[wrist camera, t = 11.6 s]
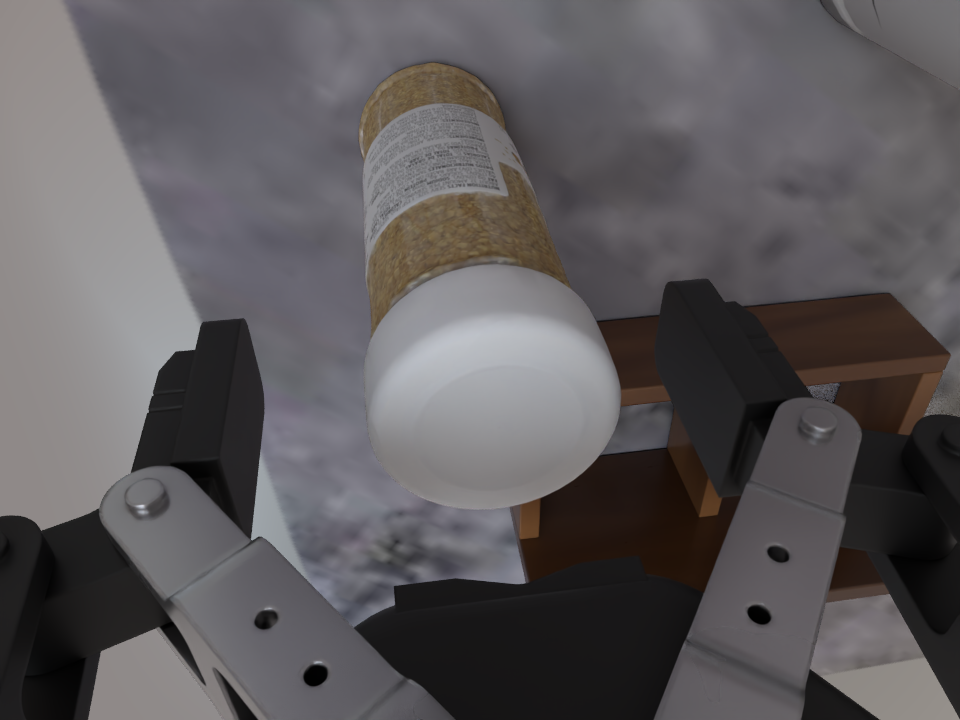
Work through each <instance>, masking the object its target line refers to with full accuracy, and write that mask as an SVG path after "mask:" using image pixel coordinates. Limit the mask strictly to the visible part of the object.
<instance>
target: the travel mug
mask: <svg viewBox="0 0 960 720" xmlns="http://www.w3.org/2000/svg"><path fill="white" fill-rule="evenodd" d="M821 1H822V3H823V5H824V7H825V8H826V10H827V11H828V12H829V13H830V14H831V15H832V16H833V17H834V18H835V19H836V20H837V21H838V22H839V23H841V24H843V25H845V26H846V27H848V28H850V29H852V30H853V31H855V32H857V33H859V34H861V35H862V36H864V37H866V38H868V39H869V40H871V41H873V42H875V43H877V44H878V45H880V46H882V47H884V48H885V49H887V50H889V51H891V52H893V53H894V54H896V55H898V56H900V57H902V58H903V59H905V60H907V61H909V62H910V63H912V64H914V65H916V66H918V67H919V68H921V69H923V70H925V71H926V72H928V73H930V74H932V75H934V76H935V77H937V78H939V79H941V80H942V81H944V82H946V83H948V84H950V85H951V86H953V87H955V88H957V89H959V90H960V0H821Z"/></svg>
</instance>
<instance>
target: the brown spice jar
mask: <svg viewBox="0 0 960 720" xmlns="http://www.w3.org/2000/svg"><path fill="white" fill-rule="evenodd" d="M359 145H360V149H361V155H362V158H363V160H364V169H363V208H364V243H365V275H366V284H367V290H368V294H369V297H370V305H371V340H370V343H369V345H368V348H367V353H366V357H365V361H364V392H365V407H366V418H367V428H368V434H369V439H370V443H371V446H372V448H373V451H374V453H375V455H376V457H377V459H378V461H379V462H380V464H381V465H382V467H383V468H384V469H385V471H386V472H387V473H388V474H389V475H390V476H391V477H392V478H393V479H394V480H395V481H396V482H397V483H398V484H399V485H401V486H402V487H404V488H405V489H407V490H408V491H410V492H411V493H413V494H415V495H417V496H419V497H421V498H423V499H426V500H428V501H431V502H434V503H437V504H441V505H445V506H449V507H454V508H461V509H479V510H484V509H497V508H504V507H511V506H515V505H519V504H523V503H527V502H530V501H533V500H536V499H538V498H541V497H544V496H546V495H548V494H550V493H552V492H554V491H556V490H558V489H560V488H562V487H563V486H565V485H567V484H568V483H570V482H571V481H573V480H574V479H576V478H577V477H578V476H579V475H580V474H582V473H583V472H584V471H585V470H586V469H587V468H588V467H589V466H590V465H591V464H592V463H593V462H594V461H595V460H596V459H597V458H598V457H599V455H600V454H601V453H602V451H603V450H604V449H605V447H606V446H607V444H608V442H609V441H610V439H611V437H612V435H613V433H614V431H615V428H616V425H617V422H618V418H619V414H620V407H621V388H620V383H619V378H618V374H617V371H616V368H615V365H614V363H613V360H612V358H611V355H610V352H609V350H608V347H607V345H606V342H605V340H604V338H603V336H602V333H601V331H600V329H599V327H598V325H597V322H596V320H595V318H594V316H593V314H592V313H591V311H590V309H589V308H588V306H587V305H586V304H585V302H584V301H583V300H582V298H581V297H580V296H578V295H577V294H576V293H575V292H574V291H573V290H572V289H571V287H570V284H569V281H568V280H567V277H566V274H565V271H564V269H563V267H562V264H561V261H560V259H559V257H558V254H557V252H556V249H555V246H554V244H553V241H552V239H551V237H550V234H549V230H548V227H547V224H546V221H545V218H544V216H543V214H542V212H541V210H540V208H539V204H538V201H537V198H536V195H535V192H534V189H533V187H532V185H531V183H530V180H529V178H528V176H527V173H526V171H525V168H524V166H523V163H522V161H521V159H520V156H519V154H518V152H517V149H516V147H515V145H514V143H513V141H512V140H511V138H510V137H509V135H508V134H507V132H506V129H505V122H504V118H503V114H502V112H501V109H500V106H499V104H498V102H497V100H496V98H495V97H494V95H493V93H492V92H491V91H490V90H489V89H488V88H487V87H486V86H485V85H484V84H483V83H482V82H481V81H480V80H479V79H478V78H476V77H475V76H474V75H471V74H469V73H467V72H466V71H464V70H462V69H459V68H456V67H452V66H450V65H444V64H440V63H434V62H431V63H426V64H422V65H415V66H411V67H408V68H405V69H403V70H400V71H398V72H395V73H394V74H393V75H391V76H390V77H388V78H387V79H386V80H385V81H383V82H382V83H380V84H379V85H378V86H377V88H376V90H375V91H374V92H373V94H372V95H371V96H370V98H369V99H368V101H367V103H366V105H365V108H364V110H363V112H362V116H361V120H360V125H359Z"/></svg>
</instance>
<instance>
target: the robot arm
mask: <svg viewBox="0 0 960 720" xmlns="http://www.w3.org/2000/svg"><path fill="white" fill-rule="evenodd" d="M654 355H655V364H656V368H657V372H658V374H659V377H660V379H661V381H662V383H663V385H664V387H665V389H666V391H667V393H668V395H669V397H670V399H671V401H672V403H673V405H674V407H675V409H676V411H677V414H678V416H679V418H680V420H681V422H682V424H683V426H684V428H685V430H686V432H687V434H688V436H689V438H690V440H691V442H692V444H693V446H694V448H695V450H696V452H697V454H698V456H699V458H700V461H701V463H702V465H703V467H704V469H705V471H706V473H707V475H708V477H709V479H710V481H711V483H712V485H713V487H714V489H715V491H716V493H717V495H718V497H719V498H722V497H731V496H739V495H741V499H740V501H739V504H738V506H737V509H736V511H735V514H734V517H733V519H732V522H731V524H730V527H729V530H728V532H727V535H726V537H725V540H724V543H723V545H722V548H721V550H720V553H719V555H718V558H717V561H716V563H715V566H714V568H713V571H712V574H711V576H710V579H709V581H708V584H707V586H706V589H705V592H704V593H703V592H701V591H699V590H697V589H695V588H693V587H691V586H689V585H686V584H684V583H682V582H679V581H676V580H672V579H669V578H665V577H661V576H656V575H650V574H646V573H645V570H644V567H643V565H642V562H641V559H640V556H639V555H638V556H630V557H622V558H614V559H606V560H598V561H591V562H583V563H578V564H576V565H573V566H571V567H568V568H565V569H563V570H560V571H557V572H555V573H552V574H549V575H547V576H544V577H541V578H539V579H536V580H534V581H531V582H528V583H525V584H507V583H497V582H487V581H477V580H466V579H456V578H455V579H447V580H439V581H431V582H423V583H415V584H407V585H399V586H394V594H395V605H394V606H392V607H389V608H387V609H384V610H382V611H380V612H378V613H376V614H374V615H372V616H370V617H369V618H367V619H366V620H364V621H363V622H361V623H360V624H358V625H357V626H356V627H354V628H353V627H352V626H351V625H350V624H349V622H348V621H347V620H346V619H345V618H344V617H343V616H342V615H341V614H340V613H339V612H338V611H337V610H336V609H335V608H334V607H333V606H332V605H331V604H330V603H329V602H328V601H327V600H326V599H325V598H324V597H323V596H322V595H321V594H320V593H319V592H318V591H317V590H316V589H315V588H314V587H313V586H312V585H311V584H310V583H309V582H308V581H307V580H306V579H305V578H304V577H303V576H302V575H301V574H300V573H299V572H298V571H297V570H296V569H295V568H294V567H293V566H292V564H290V562H289V561H288V560H287V559H286V558H285V557H284V556H283V555H282V554H281V553H280V552H279V551H278V550H277V549H276V548H275V547H274V546H273V545H272V544H271V543H270V542H268V541H267V540H266V539H264V538H263V537H257V538H256V539H254V540H253V541H252V540H251V533H252V523H253V514H254V505H255V495H256V486H257V476H258V468H259V467H258V466H259V458H260V449H261V439H262V430H263V421H264V393H263V386H262V381H261V377H260V373H259V369H258V365H257V361H256V357H255V353H254V349H253V345H252V341H251V337H250V333H249V329H248V325H247V323H246V321H245V319H244V318H242V319H231V320H220V321H209V322H203V323H202V324H201V327H200V331H199V336H198V340H197V344H196V349H195V350H190V351H178V352H175V353H174V354H173V355H172V357H171V358H170V359H169V360H168V361H167V362H166V364H165V365H164V366H163V367H162V368H161V369H160V370H159V372H158V376H157V380H156V383H155V387H154V390H153V394H154V396H152V398H151V401H150V405H149V413H147V416H146V419H145V423H144V427H143V430H142V434H141V438H140V442H139V445H138V449H137V452H136V456H135V459H134V463H133V467H132V470H131V473H130V474H128V475H126V476H125V477H123V478H122V479H120V480H119V481H118V482H116V483H115V484H114V485H113V486H112V487H111V488H110V489H109V490H108V491H107V493H106V494H105V495H104V497H103V499H102V501H101V504H100V508H99V509H97V510H95V511H93V512H91V513H90V514H87V515H84V516H82V517H79V518H76V519H73V520H71V521H68V522H65V523H62V524H59V525H57V526H54V527H51V528H48V529H45V530H42V531H41V530H40V528H39V527H38V525H37V524H36V523H35V522H33V521H32V520H30V519H28V518H26V517H21V516H1V517H0V720H88V716H89V711H90V706H91V701H92V695H93V690H94V685H95V679H96V673H97V669H98V663H99V658H100V653H101V651H102V650H105V649H107V648H110V647H112V646H114V645H117V644H119V643H121V642H124V641H126V640H129V639H131V638H134V637H136V636H138V635H141V634H143V633H146V632H148V631H150V630H153V629H155V628H156V629H157V631H158V632H159V633H160V635H161V636H162V637H163V638H164V640H165V641H166V642H167V644H168V645H169V646H170V648H171V649H172V650H173V652H174V653H175V654H176V656H177V657H178V658H179V659H180V661H181V662H182V663H183V665H184V666H185V667H186V669H187V670H188V671H189V673H190V674H191V675H192V676H193V678H194V679H195V680H196V682H197V683H198V684H199V686H200V687H201V688H202V690H203V691H204V692H205V694H206V695H207V696H208V698H209V699H210V700H211V702H212V703H213V705H214V706H215V708H216V709H217V711H218V712H219V714H220V716H221V718H222V719H223V720H879V719H878V718H876V717H875V716H874V715H872V714H871V713H870V712H868V711H867V710H865V709H864V708H862V707H861V706H860V705H859V704H857V703H856V702H855V701H853V700H852V699H850V698H849V697H848V696H846V695H845V694H844V693H842V692H841V691H839V690H838V689H837V688H835V687H834V686H833V685H831V684H830V683H828V682H827V681H826V680H824V679H823V678H822V677H820V676H819V675H817V674H816V673H815V672H813V671H812V670H811V669H810V666H811V661H812V657H813V653H814V649H815V645H816V641H817V637H818V633H819V629H820V625H821V621H822V617H823V613H824V609H825V604H826V600H827V596H828V592H829V588H830V584H831V580H832V576H833V572H834V568H835V564H836V560H837V556H838V551H839V547H843V548H850V549H856V550H863V551H866V552H867V554H868V556H869V558H870V559H871V561H872V563H873V565H874V567H875V568H876V570H877V572H878V574H879V575H880V577H881V579H882V581H883V583H884V584H885V586H886V588H887V590H888V592H889V593H890V595H891V597H892V599H893V600H894V602H895V604H896V606H897V608H898V609H899V611H900V613H901V615H902V617H903V618H904V620H905V622H906V624H907V625H908V627H909V629H910V631H911V633H912V634H913V636H914V638H915V640H916V642H917V643H918V645H919V647H920V649H921V650H922V652H923V654H924V656H925V658H926V659H927V661H928V663H929V665H930V666H931V668H932V670H933V672H934V673H935V675H936V677H937V679H938V681H939V683H940V684H941V686H942V688H943V690H944V691H945V693H946V695H947V697H948V699H949V700H950V702H951V704H952V706H953V707H954V709H955V711H956V713H957V715H958V717H959V718H960V417H956V416H951V415H930V416H926V417H923V418H922V419H920V420H919V421H917V422H916V424H915V425H914V427H913V429H912V431H911V433H910V435H903V434H895V433H888V432H880V431H872V430H867V429H862V428H860V426H859V424H858V423H857V421H856V420H855V418H854V417H853V416H852V415H851V414H849V413H848V412H847V411H846V410H844V409H843V408H841V407H839V406H837V405H835V404H833V403H831V402H828V401H825V400H821V399H817V398H813V396H812V395H811V393H810V392H809V391H808V389H807V388H806V386H805V385H804V383H803V382H802V381H801V379H800V378H799V376H798V375H797V373H796V372H795V371H794V369H793V368H792V366H791V365H790V364H789V362H788V361H787V359H786V358H785V356H784V355H783V354H782V352H781V351H778V346H777V345H776V344H775V342H774V341H773V339H772V338H771V337H769V336H768V332H767V331H766V329H765V328H764V326H763V325H762V324H761V322H760V321H759V319H758V318H757V316H755V315H754V314H753V313H751V312H750V311H748V310H747V309H745V308H744V307H742V306H741V305H740V304H738V303H737V302H735V301H734V302H724V301H723V300H722V298H721V297H720V295H719V294H718V292H717V291H716V289H715V288H714V286H713V285H712V283H711V282H710V281H709V280H708V279H695V280H684V281H673V282H668V283H667V284H666V286H665V289H664V293H663V299H662V304H661V310H660V316H659V322H658V328H657V333H656V339H655V347H654Z"/></svg>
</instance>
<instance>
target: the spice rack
mask: <svg viewBox="0 0 960 720" xmlns="http://www.w3.org/2000/svg"><path fill="white" fill-rule="evenodd" d="M745 309H747V310H748V311H750V312H751V313H753V314H754V315H755V316H757V318H758V319H759V321H760V322H761V324H762V325H763V326H764V328H765V329H766V331H767V332H768V336H769V337H771V338H772V339H773V341H774V342H775V344H776V345H777V346H778V351H781V352H782V354H783V355H784V356H785V358H786V359H787V361H788V362H789V364H790V365H791V366H792V368H793V369H794V371H795V372H796V373H797V375H798V376H799V378H800V379H801V381H802V382H803V383H804V385H805V386H811V385H820V384H829V383H838V382H841V385H840V387H839V390H838V393H837V396H836V399H835V402H834V404H835V405H837V406H839V407H841V408H843V409H844V410H846V411H847V412H848V413H849V414H851V415H852V416H853V417H854V418H855V420H856V421H857V423H858V424H859V426H860V428H862V429H867V430H872V431H880V432H888V433H895V434H903V435H910V433H911V431H912V429H913V427H914V425H915V424H916V422H917V421H919V420H920V419H922V418H923V416H924V414H925V411H926V409H927V407H928V405H929V403H930V400H931V398H932V396H933V394H934V392H935V389H936V387H937V385H938V383H939V381H940V378H941V376H942V374H943V370H944V369H945V367H946V365H947V363H948V361H949V359H950V356H951V354H950V353H949V352H948V351H947V350H946V349H945V348H944V347H943V346H942V345H941V344H940V343H939V342H938V341H937V340H936V339H935V338H934V337H933V336H932V335H931V334H930V333H929V332H928V331H927V330H926V329H925V328H924V327H923V326H922V325H921V324H920V323H919V322H918V321H917V320H916V319H915V318H914V317H913V316H912V315H911V314H910V313H909V312H908V311H907V310H906V309H905V308H904V307H903V306H902V305H901V304H900V303H899V302H898V301H897V300H896V299H895V298H894V297H893V296H892V295H891V294H889V293H887V294H877V295H867V296H857V297H847V298H837V299H826V300H816V301H806V302H796V303H786V304H776V305H766V306H756V307H746V308H745ZM658 322H659V316H655V317H645V318H635V319H625V320H615V321H605V322H597V325H598V327H599V329H600V331H601V333H602V336H603V338H604V340H605V342H606V345H607V347H608V350H609V352H610V355H611V358H612V360H613V363H614V365H615V368H616V371H617V374H618V378H619V383H620V388H621V406H629V405H638V404H647V403H656V402H665V401H671V399H670V397H669V395H668V393H667V391H666V389H665V387H664V385H663V383H662V381H661V379H660V377H659V374H658V372H657V368H656V364H655V355H654V347H655V339H656V333H657V328H658ZM667 448H668V449H659V450H650V451H642V452H633V453H624V454H616V455H607V456H599V457H598V458H597V459H596V460H595V461H594V462H593V463H592V464H591V465H590V466H589V467H588V468H587V469H586V470H585V471H584V472H583V473H582V474H580V475H579V476H578V477H577V478H576V479H574V480H573V481H571V482H570V483H568V484H567V485H565V486H563V487H562V488H560V489H558V490H556V491H554V492H552V493H550V494H548V495H546V496H544V497H541V498H538V499H536V500H533V501H530V502H527V503H523V504H519V505H515V506H511V507H510V512H511V516H512V521H513V526H514V530H515V535H516V539H517V544H518V548H519V553H520V558H521V562H522V567H523V571H524V576H525V581H526V583H528V582H531V581H534V580H536V579H539V578H541V577H544V576H547V575H549V574H552V573H555V572H557V571H560V570H563V569H565V568H568V567H571V566H573V565H576V564H578V563H583V562H591V561H598V560H606V559H614V558H622V557H630V556H638V555H639V556H640V559H641V562H642V565H643V567H644V570H645V573H646V574H650V575H656V576H661V577H665V578H669V579H672V580H676V581H679V582H682V583H684V584H686V585H689V586H691V587H693V588H695V589H697V590H699V591H701V592H703V593H704V592H705V589H706V586H707V584H708V581H709V579H710V576H711V574H712V571H713V568H714V566H715V563H716V561H717V558H718V555H719V553H720V550H721V548H722V545H723V543H724V540H725V537H726V535H727V532H728V530H729V527H730V524H731V522H732V519H733V517H734V514H735V511H736V509H737V506H738V504H739V501H740V499H741V495H739V496H731V497H722V498H719V497H718V495H717V493H716V491H715V489H714V487H713V485H712V483H711V481H710V479H709V477H708V475H707V473H706V471H705V469H704V467H703V465H702V463H701V461H700V458H699V456H698V454H697V452H696V450H695V448H694V446H693V444H692V442H691V440H690V438H689V436H688V434H687V432H686V430H685V428H684V426H683V424H682V422H681V420H680V418H679V416H678V414H677V411H676V409H675V407H674V413H673V418H672V424H671V429H670V435H669V440H668V446H667ZM885 594H890V593H889V592H888V590H887V588H886V586H885V584H884V583H883V581H882V579H881V577H880V575H879V574H878V572H877V570H876V568H875V567H874V565H873V563H872V561H871V559H870V558H869V556H868V554H867V552H866V551H863V550H856V549H850V548H843V547H839V551H838V556H837V560H836V564H835V568H834V572H833V576H832V580H831V584H830V588H829V592H828V596H827V600H826V603H827V602H835V601H842V600H849V599H856V598H864V597H871V596H878V595H885Z"/></svg>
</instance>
